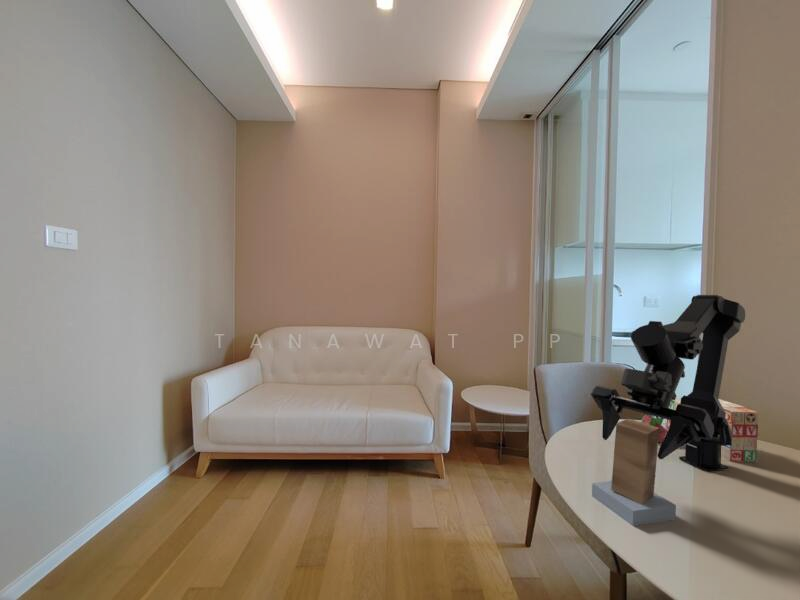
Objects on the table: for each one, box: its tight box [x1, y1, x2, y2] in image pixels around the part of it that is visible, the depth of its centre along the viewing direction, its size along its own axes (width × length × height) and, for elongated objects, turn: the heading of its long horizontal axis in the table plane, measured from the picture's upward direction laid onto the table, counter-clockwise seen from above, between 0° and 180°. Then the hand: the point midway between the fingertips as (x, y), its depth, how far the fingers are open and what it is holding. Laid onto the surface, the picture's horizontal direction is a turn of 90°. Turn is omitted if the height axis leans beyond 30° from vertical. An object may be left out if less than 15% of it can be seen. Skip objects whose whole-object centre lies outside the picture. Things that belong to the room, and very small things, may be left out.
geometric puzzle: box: [640, 413, 669, 444], centre depth 95 cm, size 7×7×8 cm
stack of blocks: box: [666, 397, 759, 463], centre depth 93 cm, size 21×6×12 cm, turn 178°
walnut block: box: [611, 418, 659, 504], centre depth 64 cm, size 5×5×12 cm
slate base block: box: [591, 480, 677, 527], centre depth 64 cm, size 9×9×3 cm
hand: (630, 447), depth 63 cm, fingers open, 9 cm apart
